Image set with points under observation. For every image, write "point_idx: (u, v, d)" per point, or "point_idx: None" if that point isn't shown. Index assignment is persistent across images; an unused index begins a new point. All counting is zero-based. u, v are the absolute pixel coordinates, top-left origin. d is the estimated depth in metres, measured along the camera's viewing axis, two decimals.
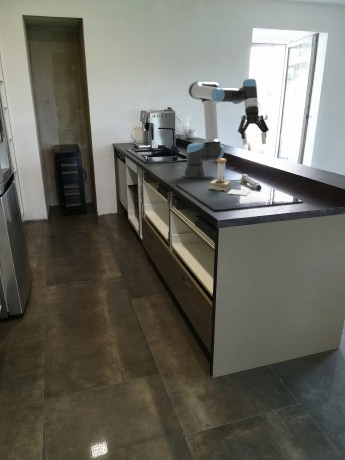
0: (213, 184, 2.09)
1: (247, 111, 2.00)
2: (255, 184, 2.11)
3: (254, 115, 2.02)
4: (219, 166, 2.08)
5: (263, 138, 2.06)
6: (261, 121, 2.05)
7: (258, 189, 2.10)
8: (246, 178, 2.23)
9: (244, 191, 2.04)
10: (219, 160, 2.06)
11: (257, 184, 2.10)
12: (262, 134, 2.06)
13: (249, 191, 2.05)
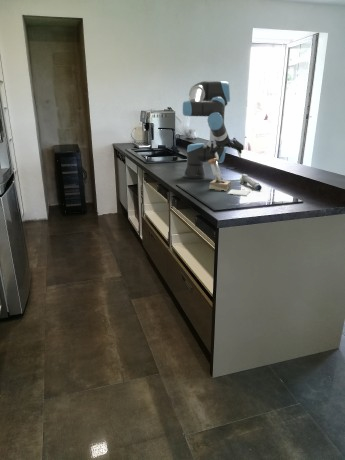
0: (213, 184, 2.09)
1: None
2: (255, 184, 2.11)
3: None
4: (212, 166, 2.09)
5: None
6: None
7: (258, 189, 2.10)
8: (246, 178, 2.23)
9: (244, 191, 2.04)
10: (210, 160, 2.08)
11: (257, 184, 2.10)
12: None
13: (249, 191, 2.05)
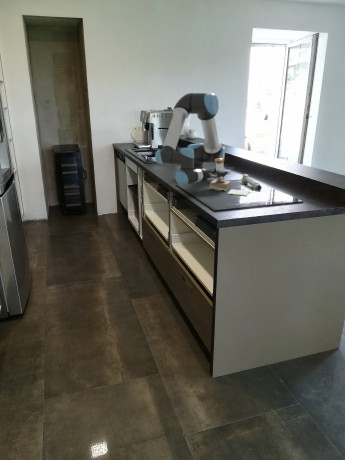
0: (213, 184, 2.09)
1: None
2: (255, 184, 2.11)
3: None
4: (218, 166, 2.07)
5: None
6: None
7: (258, 189, 2.10)
8: (247, 178, 2.23)
9: (244, 191, 2.04)
10: (217, 160, 2.05)
11: (257, 184, 2.10)
12: None
13: (249, 191, 2.05)
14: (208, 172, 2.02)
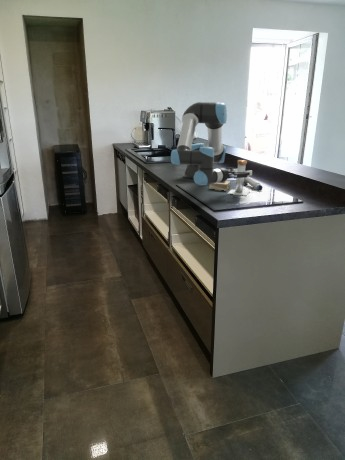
0: (213, 184, 2.09)
1: None
2: (256, 184, 2.10)
3: None
4: (239, 168, 1.97)
5: None
6: None
7: (259, 189, 2.09)
8: (246, 178, 2.23)
9: (244, 191, 2.04)
10: (240, 161, 1.96)
11: (258, 184, 2.09)
12: None
13: (249, 191, 2.05)
14: (227, 172, 1.90)
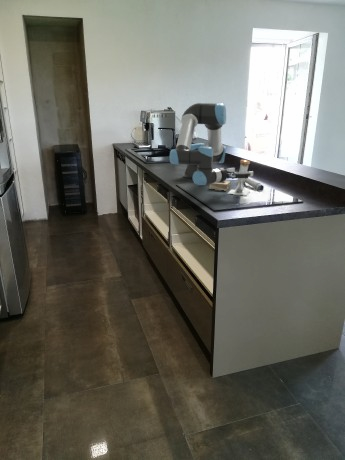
0: (213, 184, 2.09)
1: None
2: (257, 184, 2.10)
3: None
4: (242, 168, 1.96)
5: None
6: None
7: (260, 189, 2.10)
8: None
9: (244, 191, 2.04)
10: (243, 162, 1.95)
11: (259, 184, 2.09)
12: None
13: (249, 191, 2.05)
14: (226, 172, 1.89)
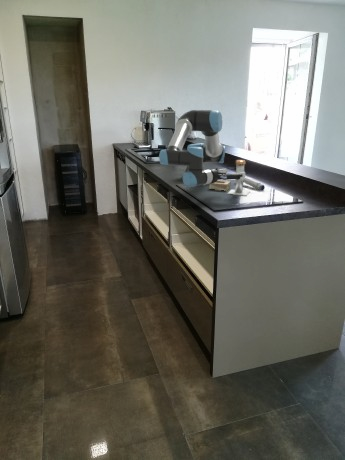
0: (213, 184, 2.09)
1: None
2: (258, 184, 2.10)
3: None
4: (238, 169, 1.96)
5: None
6: None
7: (262, 189, 2.10)
8: (244, 179, 2.22)
9: (244, 191, 2.04)
10: (238, 162, 1.94)
11: (260, 184, 2.10)
12: None
13: (249, 191, 2.05)
14: (217, 173, 1.85)
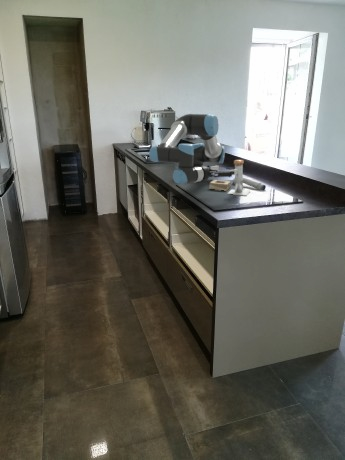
0: (213, 184, 2.09)
1: None
2: (259, 184, 2.10)
3: None
4: (236, 168, 1.97)
5: None
6: None
7: (263, 189, 2.10)
8: None
9: (244, 191, 2.04)
10: (236, 162, 1.95)
11: (262, 184, 2.10)
12: None
13: (249, 191, 2.05)
14: (209, 170, 1.82)
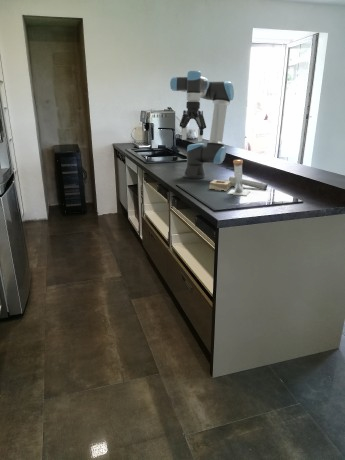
0: (213, 184, 2.09)
1: None
2: (262, 184, 2.12)
3: (192, 110, 1.94)
4: (235, 168, 1.97)
5: None
6: None
7: (266, 188, 2.13)
8: None
9: (244, 191, 2.04)
10: (235, 162, 1.96)
11: (264, 183, 2.12)
12: None
13: (249, 191, 2.05)
14: None
